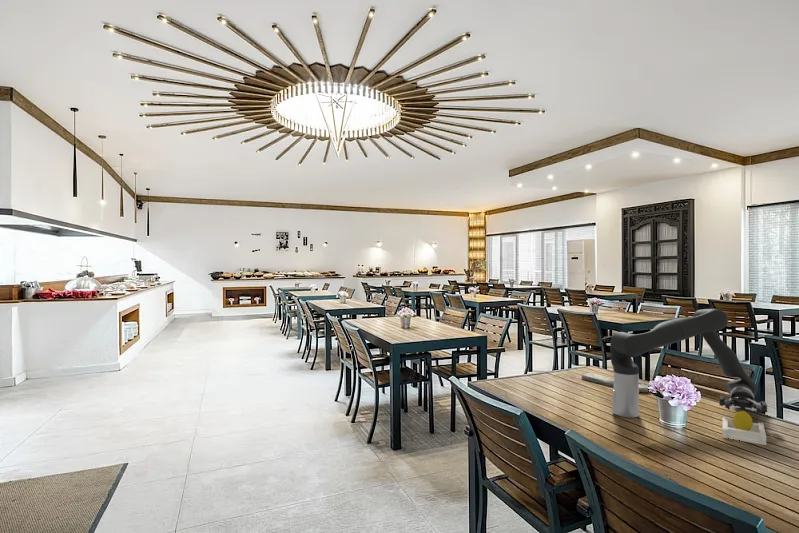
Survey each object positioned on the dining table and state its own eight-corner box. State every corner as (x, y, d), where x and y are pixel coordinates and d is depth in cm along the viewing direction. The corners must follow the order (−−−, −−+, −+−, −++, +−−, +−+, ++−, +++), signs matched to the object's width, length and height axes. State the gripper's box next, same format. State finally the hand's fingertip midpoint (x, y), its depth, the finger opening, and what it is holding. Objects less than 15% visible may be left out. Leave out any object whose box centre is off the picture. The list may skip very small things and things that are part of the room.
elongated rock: (588, 379, 243) (577, 383, 237) (587, 369, 243) (576, 373, 237) (655, 390, 214) (645, 395, 209) (654, 379, 215) (643, 384, 209)
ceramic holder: (722, 437, 158) (722, 429, 158) (722, 424, 170) (722, 416, 170) (766, 445, 151) (766, 436, 151) (763, 431, 163) (763, 423, 163)
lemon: (756, 436, 158) (755, 413, 158) (738, 435, 159) (738, 412, 159) (747, 430, 163) (746, 408, 163) (730, 429, 164) (729, 407, 164)
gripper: (719, 385, 181) (719, 395, 168) (765, 391, 173) (768, 402, 160) (720, 404, 181) (719, 415, 168) (765, 410, 173) (768, 423, 160)
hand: (743, 409), depth 164 cm, fingers open, 8 cm apart
